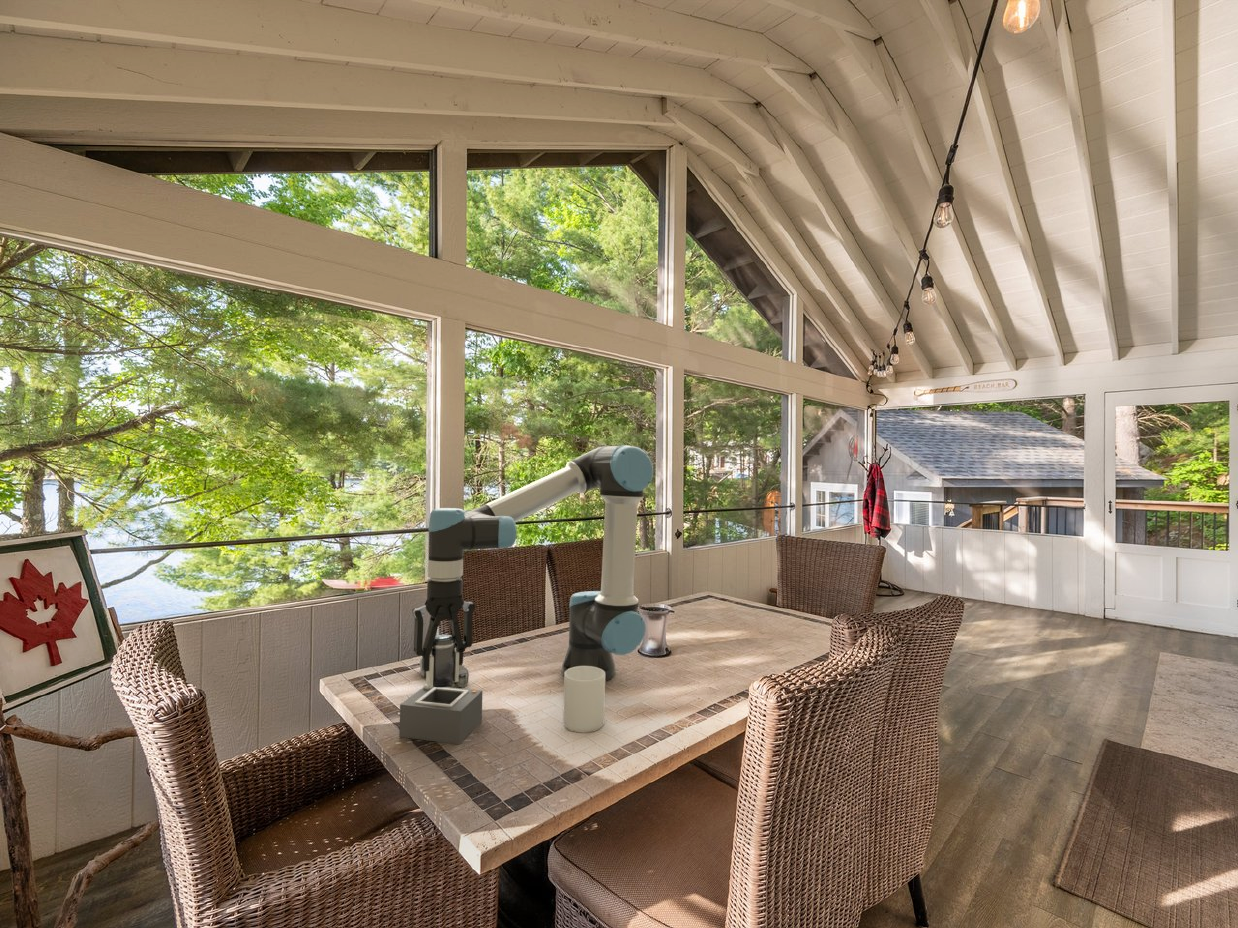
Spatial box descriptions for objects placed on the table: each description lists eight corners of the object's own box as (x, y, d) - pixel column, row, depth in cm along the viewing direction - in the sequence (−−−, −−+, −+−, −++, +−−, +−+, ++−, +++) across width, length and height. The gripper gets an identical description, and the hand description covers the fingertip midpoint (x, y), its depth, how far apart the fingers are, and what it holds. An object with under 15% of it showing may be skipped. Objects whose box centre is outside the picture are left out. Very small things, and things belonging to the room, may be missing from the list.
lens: (458, 679, 128) (459, 634, 128) (447, 688, 122) (448, 641, 122) (437, 677, 128) (438, 633, 128) (425, 686, 123) (426, 639, 123)
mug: (588, 737, 123) (589, 684, 123) (546, 723, 129) (547, 672, 129) (612, 721, 131) (613, 671, 131) (571, 708, 137) (572, 660, 137)
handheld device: (447, 696, 144) (447, 677, 144) (415, 673, 158) (415, 657, 158) (481, 686, 150) (481, 668, 150) (447, 665, 165) (447, 649, 165)
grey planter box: (481, 720, 130) (482, 687, 130) (459, 744, 119) (460, 707, 119) (425, 714, 132) (426, 681, 132) (399, 736, 121) (400, 700, 121)
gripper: (478, 571, 134) (475, 669, 134) (398, 578, 123) (395, 684, 123) (490, 577, 127) (487, 679, 127) (407, 585, 117) (404, 696, 117)
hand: (442, 681), depth 125 cm, fingers closed on lens, 5 cm apart
